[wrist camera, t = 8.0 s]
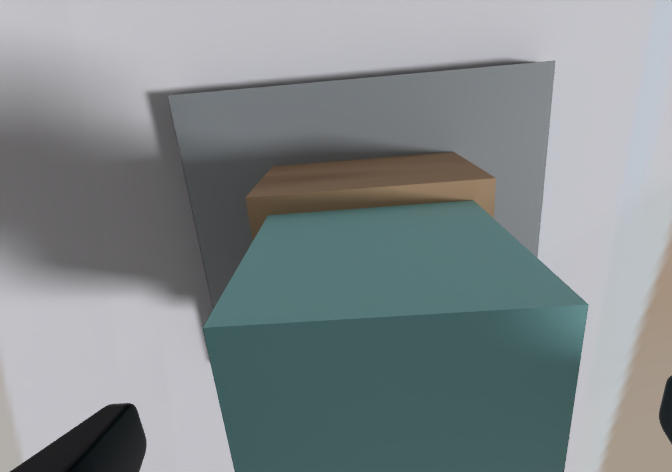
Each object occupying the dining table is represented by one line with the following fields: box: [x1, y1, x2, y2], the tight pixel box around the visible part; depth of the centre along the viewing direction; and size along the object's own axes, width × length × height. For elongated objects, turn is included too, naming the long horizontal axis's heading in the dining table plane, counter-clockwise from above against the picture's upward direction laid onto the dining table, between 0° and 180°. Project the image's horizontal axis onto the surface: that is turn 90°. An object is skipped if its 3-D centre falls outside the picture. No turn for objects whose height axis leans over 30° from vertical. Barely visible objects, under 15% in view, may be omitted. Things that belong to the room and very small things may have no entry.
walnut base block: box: [245, 152, 496, 241], centre depth 13 cm, size 6×6×4 cm
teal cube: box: [203, 200, 588, 472], centre depth 9 cm, size 5×5×5 cm
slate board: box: [168, 61, 555, 309], centre depth 15 cm, size 11×12×1 cm
